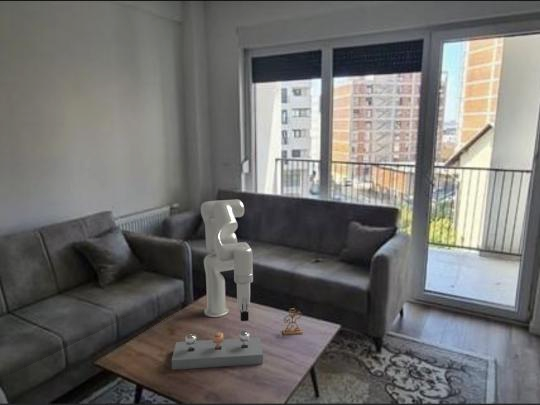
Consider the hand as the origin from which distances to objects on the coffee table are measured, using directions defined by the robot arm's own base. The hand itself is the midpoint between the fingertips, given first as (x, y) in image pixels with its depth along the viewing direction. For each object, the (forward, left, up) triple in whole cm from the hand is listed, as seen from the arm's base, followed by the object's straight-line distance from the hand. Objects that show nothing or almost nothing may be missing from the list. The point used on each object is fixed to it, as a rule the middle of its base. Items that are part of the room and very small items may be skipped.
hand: (244, 320), depth 162 cm
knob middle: (0, -11, -12) cm, 16 cm away
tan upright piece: (-17, +23, -16) cm, 33 cm away
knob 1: (0, -22, -12) cm, 25 cm away
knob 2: (0, 0, -12) cm, 12 cm away
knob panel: (0, -11, -16) cm, 19 cm away
